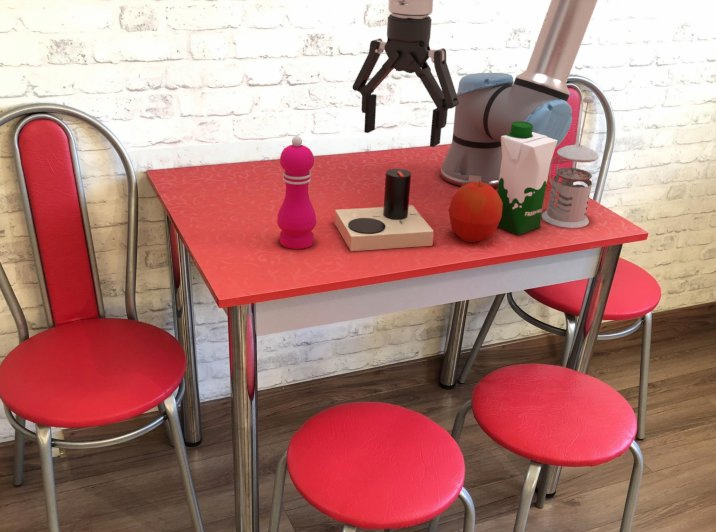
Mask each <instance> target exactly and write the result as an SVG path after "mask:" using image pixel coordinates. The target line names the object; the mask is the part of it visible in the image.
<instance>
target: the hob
mask: <svg viewBox="0 0 716 532" xmlns="http://www.w3.org/2000/svg"><path fill="white" fill-rule="evenodd" d="M383 208H384V206H377V207H362V208H361V207H360V208H359V207H358V208H342V209H334V225H335V227H336V229H337V230H338V232H339V234H340V236H341V238H342V239H343V240H344V243H345V244H346V246H347V248H348V249H349V251H350V252H362V251H377V250H389V249H391V250H392V249H404V248H417V247H432V246H433V243H434V235H435V231H434V229H433V228H432V227H431V225H429V223H428V222H427V221H426V220H425V219H424V217H423V216H422V215H421V214H420V212H419V211H418V210H417V208H416V207H414V205H411V204H410V205H409V207H408V216H407V218H405V219H401V220H393V219H389V218H386V217H385V216H384V215H383ZM357 218H372V219H377V220H380V221H382V222H383V223H384V224H385V230H384V231H382V232H380V233H376V234H362V233H357V232H354V231H352V230H351V229H349V227H348V223H349V222H350V221H351V220H354V219H357Z"/></svg>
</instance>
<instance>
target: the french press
mask: <svg viewBox="0 0 716 532" xmlns="http://www.w3.org/2000/svg"><path fill="white" fill-rule="evenodd" d="M582 103H585V104H586V107H585V112H584V116H583V122H582V127H581V132H580V138H579V142H578V144H569V145H565V146H563V147H560V148H558V149H557V151H556V153H557V155H555V156H554V157H552V160H551V163H550V168H549V173H548V177H549V182H550V185H551V189H550V194H549V199H548V204H547V209H546V210H545V211H543V212H542V215H541V219H542V220H543V221H544V222H546V223H548V224H550V225H553V226H557V227H560V228H568V229H577V228H578V229H579V228H583V227H587V225H588V224H589V223H590V221H589V218H588V217H587V215H586V214H587V209H588V206H589V201H590V195H591V191H592V186H593V182H592V180H591V179H592V178H593V174H592V173H591V172H589V171H588V170H585V169H582V168H578V167H577V163H593V162H596V161H597V160H598V159H599V157H600V156H599V154H598V153H597V152H596V151H595V150H594V149H593V148H591V147H588V146H587V145H581V144H582V143H581V142H582V138H583V134H584V133H583V132H584V129H585V128H584V127H585V123H586V117H587V113H588V112H587V111H588V109H589V108H588V107H589V104H593V103H594V97H593V96H591V95H586V96H584V97H583V99H582ZM557 157H560V158H559V159H558V161H557V164H556V168H555V176H552V177H551V175H552V174H551V173H552V172H551V171H552V165H553V163H554V161H555V159H556V158H557ZM562 159H564V160H562ZM567 161H571V162H573V163H574V167H572V166H571V167H567V166H565V167H559V163H560V162H562V163H564V162H567ZM560 178H561V182H560V181H559V180H560ZM578 182H579V183H584V184H585V185H587V186H585V185H584V184H578ZM574 183H577V184H574ZM556 198H557V199H556ZM555 204H556V205H555Z"/></svg>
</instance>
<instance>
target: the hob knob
mask: <svg viewBox="0 0 716 532" xmlns="http://www.w3.org/2000/svg"><path fill="white" fill-rule="evenodd" d="M411 182H412V172H411V171H409V170H408V169H404V168H390V169H387V170H386V171H385V181H384V194H383V207H384V208H383V215H384V216H385V217H386V218H389V219H393V220H401V219H405V218H407V216H408V207H409V206H410V205H409V204H410V192H411Z"/></svg>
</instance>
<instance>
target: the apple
mask: <svg viewBox="0 0 716 532" xmlns="http://www.w3.org/2000/svg"><path fill="white" fill-rule="evenodd" d="M502 205H503V203H502V200H501V198H500V196H499V195H498V193H497V189H495V188H492V187H491V186H490V185H488V184H486V183H482V182H480V181H479V182H470V183H467V184H465V185H464V186H459V188H458V189H457V190H456V192H455V193H454V194H453V195H452V196H451V198H450V202H449V206H448V215H449V216H448V217H449V220H450V221H449V222H450V227H451V230H452V232H453V233H455V234H456V236H458V237H459V239H461V241H464V242H467V243H477V242H481V241H482V240H485V239H487V238H488V237H491V236H493V235H494V234H495V233H496V231H497V229H498V228H499V227H498V224H499V222H500V219H501V217H502Z"/></svg>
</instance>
